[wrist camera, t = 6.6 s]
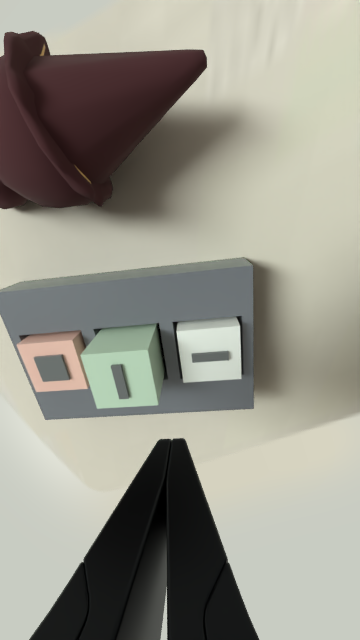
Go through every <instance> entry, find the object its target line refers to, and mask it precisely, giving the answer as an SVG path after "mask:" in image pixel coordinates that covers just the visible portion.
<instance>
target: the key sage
mask: <svg viewBox="0 0 360 640" xmlns="http://www.w3.org/2000/svg"><path fill="white" fill-rule="evenodd" d="M80 356H81V359H82V362H83V365H84V368H85V372H86V375H87V378H88V381H89V384H90V388H91V391H92V394H93V397H94V400H95V403H96V407H97V409H101V408H119V407H137V406H154V405H159V399H160V394H161V389H162V383H163V378H164V373H165V368H164V362H163V356H162V350H161V344H160V338H159V332H158V326H157V323H155V324H143V325H132V326H121V327H109V328H102V329H101V330H100V331H99V333H98V334H97V335H96V336H95V337H94V339H93V340H92V341H91V342H90V344H89V345H88V346H87V347H86V349H85V350H84V351H83V352H82V354H81V355H80Z"/></svg>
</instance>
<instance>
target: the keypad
mask: <svg viewBox="0 0 360 640" xmlns="http://www.w3.org/2000/svg"><path fill="white" fill-rule="evenodd" d="M0 315H1V317H2V319H3V322H4V324H5V326H6V329H7V331H8V334H9V336H10V338H11V341H12V343H13V345H14V348H15V350H16V352H17V355H18V357H19V359H20V362H21V364H22V366H23V369H24V371H25V373H26V376H27V378H28V380H29V383H30V385H31V387H32V390H33V392H34V394H35V397H36V399H37V401H38V404H39V406H40V408H41V411H42V413H43V415H44V418H45V420H51V419H70V418H89V417H107V416H126V415H145V414H163V413H182V412H201V411H219V410H238V409H254V371H253V265H252V264H251V263H250V262H249V261H247V260H246V259H245V258H244V257H243V258H234V259H225V260H215V261H206V262H197V263H188V264H179V265H170V266H161V267H152V268H142V269H133V270H124V271H115V272H106V273H97V274H88V275H79V276H70V277H60V278H51V279H42V280H33V281H24V282H19V283H16V284H14V285H11V286H9V287H6V288H3V289H1V290H0ZM234 316H236V317H237V320H238V322H239V325H240V343H241V379H233V380H218V381H202V382H187V383H183V376H182V368H181V361H180V354H179V346H178V339H177V332H176V331H177V324H178V322H177V321H189V320H200V319H211V318H223V317H234ZM155 323H159V326H160V332H161V338H162V344H163V350H164V356H165V359H163V362H164V368H165V373H164V378H163V383H162V389H161V394H160V399H159V405H154V406H137V407H119V408H101V409H97V407H96V403H95V400H94V397H93V394H92V391H91V388H90V386H89V388H88V389H77V390H62V391H46V392H36V390H35V388H34V386H33V383H32V381H31V379H30V376H29V374H28V372H27V369H26V367H25V364H24V362H23V360H22V357H21V355H20V353H19V350H18V348H17V344H18V343H19V342H21V341H22V340H23V339H25V338H26V337H28V336H29V335H30V334H41V333H53V332H64V331H75V330H81V332H82V336H83V339H84V342H85V346H86V347H87V346H88V345H89V344H90V342H91V341H92V340H93V339H94V337H95V336H96V335H97V334H98V333H99V331H100V330H101V329H102V328H109V327H121V326H132V325H143V324H155Z"/></svg>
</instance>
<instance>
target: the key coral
mask: <svg viewBox="0 0 360 640" xmlns="http://www.w3.org/2000/svg"><path fill="white" fill-rule="evenodd" d="M17 348H18V350H19V353H20V355H21V357H22V360H23V362H24V364H25V367H26V369H27V372H28V374H29V376H30V379H31V381H32V383H33V386H34V388H35V390H36V392H46V391H62V390H77V389H88V388H89V386H90V384H89V381H88V378H87V375H86V372H85V368H84V365H83V362H82V359H81V356H80V355H81V354H82V352H83V351H84V350H85V349H86V346H85V342H84V339H83V336H82V332H81V330H75V331H64V332H53V333H41V334H30V335H29V336H28V337H26V338H25V339H23V340H22V341H21V342H19V343H18V344H17Z"/></svg>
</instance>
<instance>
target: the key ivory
mask: <svg viewBox="0 0 360 640" xmlns="http://www.w3.org/2000/svg"><path fill="white" fill-rule="evenodd" d="M176 332H177V339H178V346H179V354H180V361H181V368H182V376H183V383H187V382H202V381H218V380H233V379H241V343H240V325H239V322H238V320H237V317H236V316H234V317H223V318H211V319H200V320H189V321H178V324H177V331H176Z"/></svg>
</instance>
